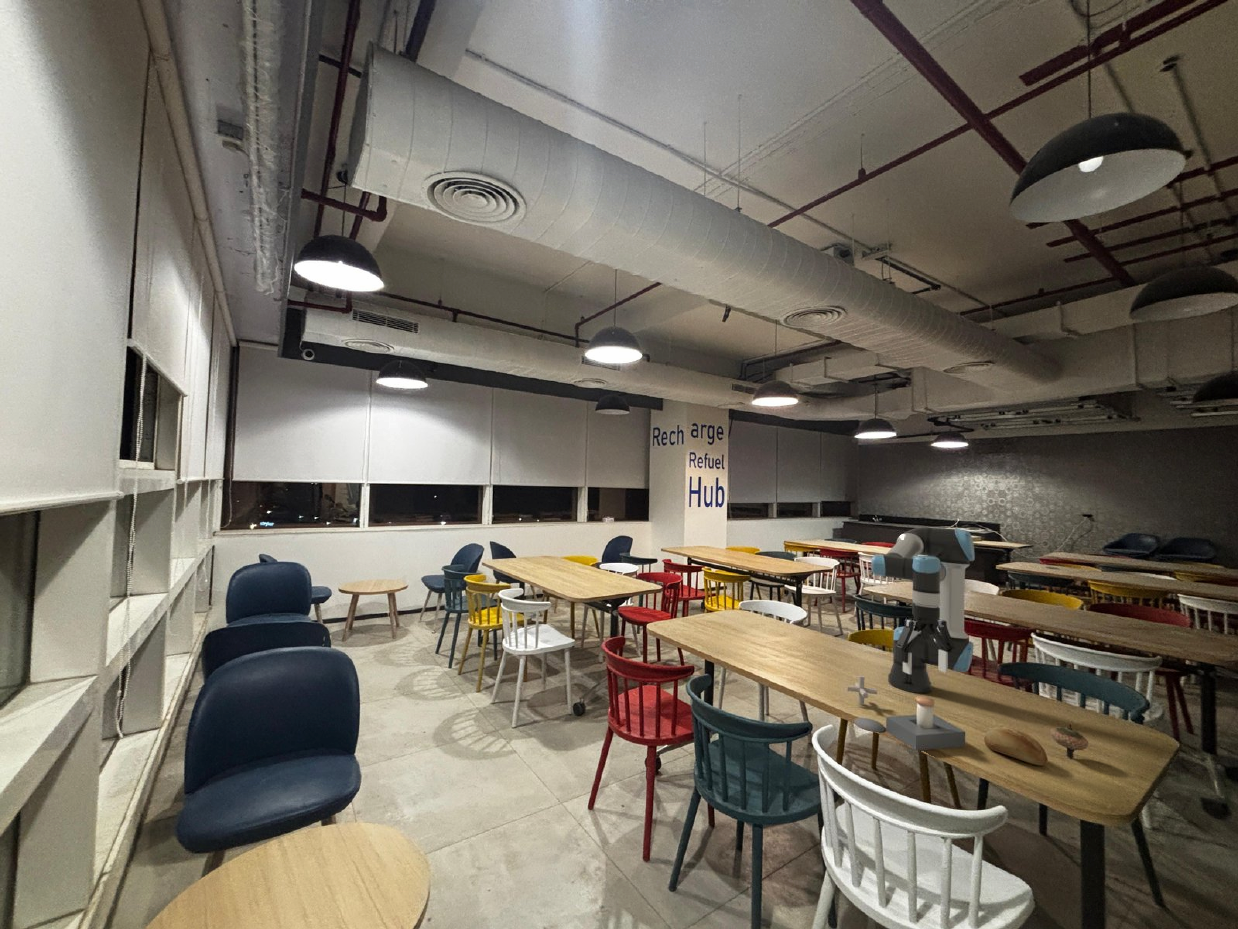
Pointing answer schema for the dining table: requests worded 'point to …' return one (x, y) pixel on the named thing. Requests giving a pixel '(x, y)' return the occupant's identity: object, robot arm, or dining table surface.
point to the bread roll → (1015, 745)
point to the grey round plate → (869, 724)
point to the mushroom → (925, 712)
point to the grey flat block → (925, 733)
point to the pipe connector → (861, 690)
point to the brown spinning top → (1069, 739)
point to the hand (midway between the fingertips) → (925, 672)
